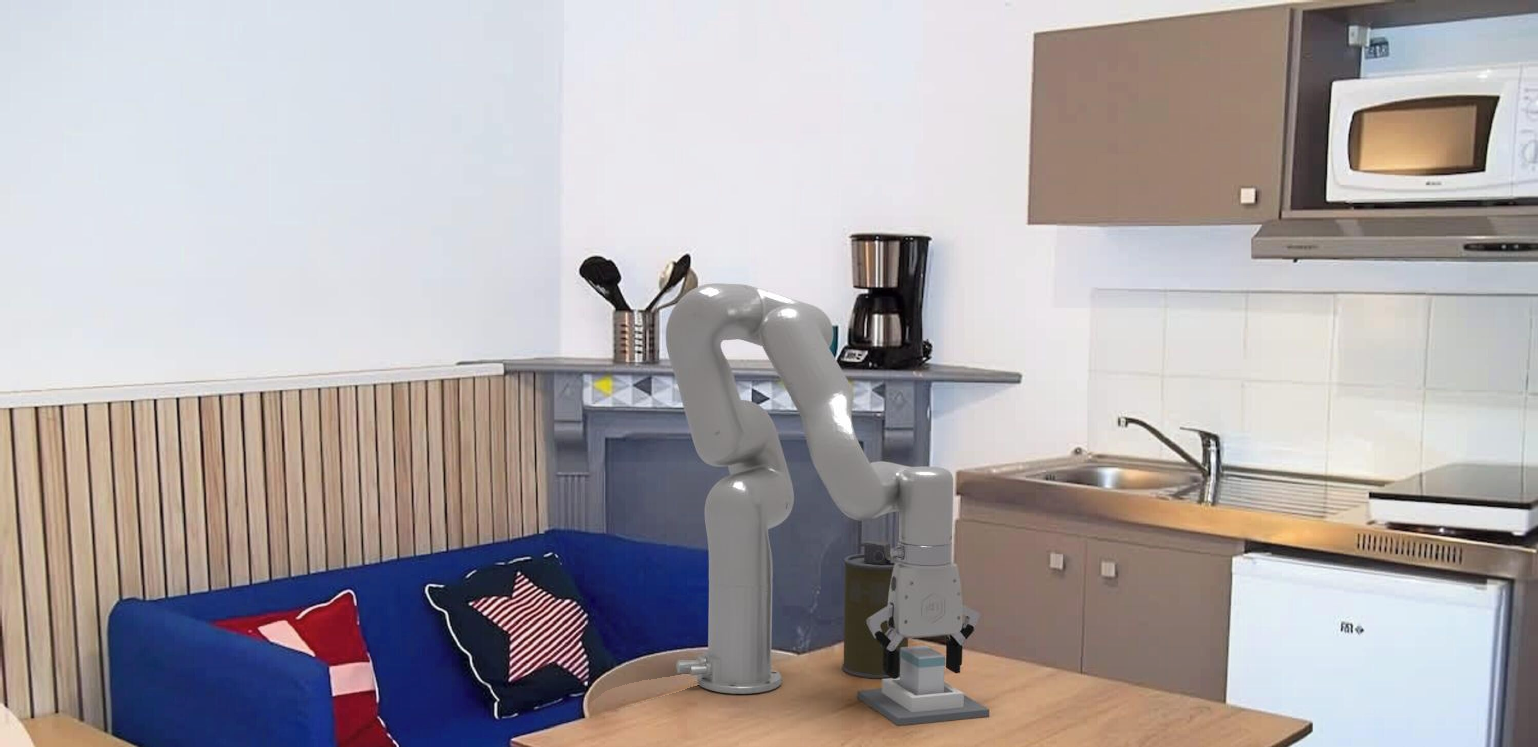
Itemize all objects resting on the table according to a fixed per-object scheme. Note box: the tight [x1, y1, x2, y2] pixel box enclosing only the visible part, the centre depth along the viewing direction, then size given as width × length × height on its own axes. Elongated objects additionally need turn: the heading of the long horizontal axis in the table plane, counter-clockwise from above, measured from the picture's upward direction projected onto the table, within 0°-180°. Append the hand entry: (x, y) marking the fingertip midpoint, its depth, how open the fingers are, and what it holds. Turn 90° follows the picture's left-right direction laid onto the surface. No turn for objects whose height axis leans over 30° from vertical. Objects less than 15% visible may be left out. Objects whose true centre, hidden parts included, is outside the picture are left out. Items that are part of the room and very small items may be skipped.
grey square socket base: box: [856, 677, 990, 726], centre depth 202 cm, size 14×14×3 cm
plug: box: [899, 645, 946, 696], centre depth 202 cm, size 4×6×7 cm
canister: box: [841, 540, 909, 680], centre depth 221 cm, size 11×10×20 cm
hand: (922, 673), depth 202 cm, fingers open, 9 cm apart
